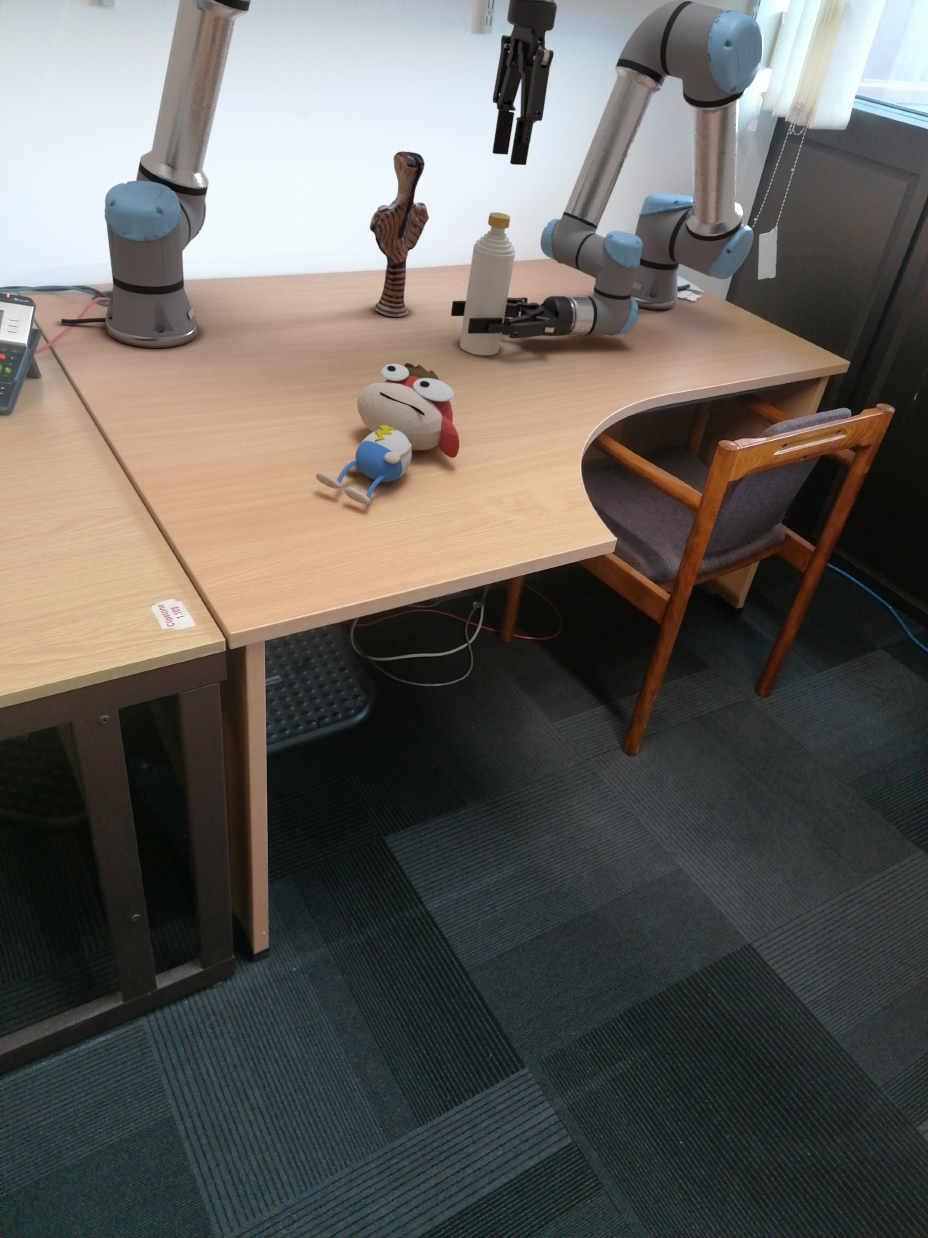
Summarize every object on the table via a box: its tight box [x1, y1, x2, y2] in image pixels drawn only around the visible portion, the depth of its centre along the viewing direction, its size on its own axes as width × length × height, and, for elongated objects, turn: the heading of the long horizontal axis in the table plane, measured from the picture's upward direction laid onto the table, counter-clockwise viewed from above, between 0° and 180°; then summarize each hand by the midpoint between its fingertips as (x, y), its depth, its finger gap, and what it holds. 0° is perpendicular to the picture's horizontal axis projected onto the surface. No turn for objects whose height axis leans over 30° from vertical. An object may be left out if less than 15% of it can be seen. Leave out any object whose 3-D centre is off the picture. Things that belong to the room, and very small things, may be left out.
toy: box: [315, 362, 460, 505], centre depth 132 cm, size 18×10×30 cm
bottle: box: [459, 226, 516, 357], centre depth 166 cm, size 8×8×24 cm
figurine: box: [369, 150, 430, 318], centre depth 173 cm, size 15×8×30 cm, turn 144°
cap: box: [487, 211, 511, 230], centre depth 159 cm, size 4×4×2 cm
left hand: (508, 158), depth 153 cm, fingers open, 6 cm apart
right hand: (460, 316), depth 168 cm, fingers closed on bottle, 8 cm apart
